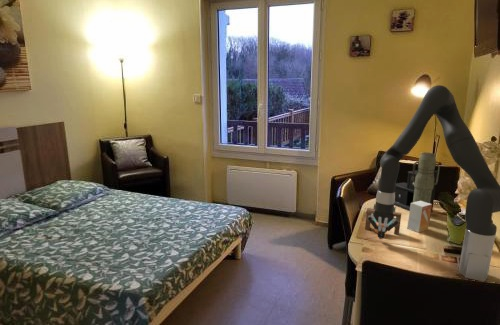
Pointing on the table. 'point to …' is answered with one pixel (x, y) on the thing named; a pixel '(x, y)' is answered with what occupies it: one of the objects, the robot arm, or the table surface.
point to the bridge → (396, 214)
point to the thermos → (424, 177)
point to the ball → (381, 227)
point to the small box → (419, 216)
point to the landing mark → (387, 224)
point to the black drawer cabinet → (409, 192)
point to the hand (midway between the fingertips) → (380, 238)
